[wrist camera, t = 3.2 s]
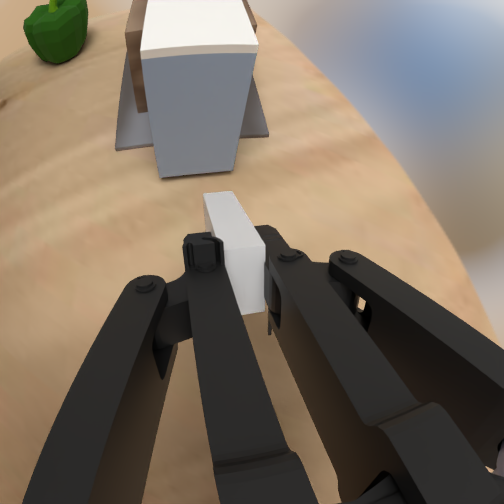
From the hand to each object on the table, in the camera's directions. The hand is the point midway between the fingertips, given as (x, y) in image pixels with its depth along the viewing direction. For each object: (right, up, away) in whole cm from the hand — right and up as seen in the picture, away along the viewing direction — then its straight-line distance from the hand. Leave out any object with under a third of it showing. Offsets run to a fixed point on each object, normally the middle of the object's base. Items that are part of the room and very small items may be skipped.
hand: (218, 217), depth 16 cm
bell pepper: (-22, +24, +13) cm, 35 cm away
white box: (-4, +9, +10) cm, 14 cm away
